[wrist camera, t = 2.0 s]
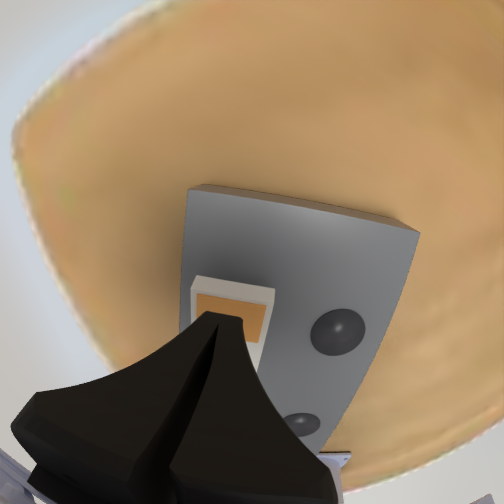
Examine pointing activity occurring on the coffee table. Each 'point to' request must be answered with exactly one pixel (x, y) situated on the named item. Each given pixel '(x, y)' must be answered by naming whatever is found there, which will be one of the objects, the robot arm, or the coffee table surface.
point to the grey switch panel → (303, 291)
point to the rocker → (236, 307)
